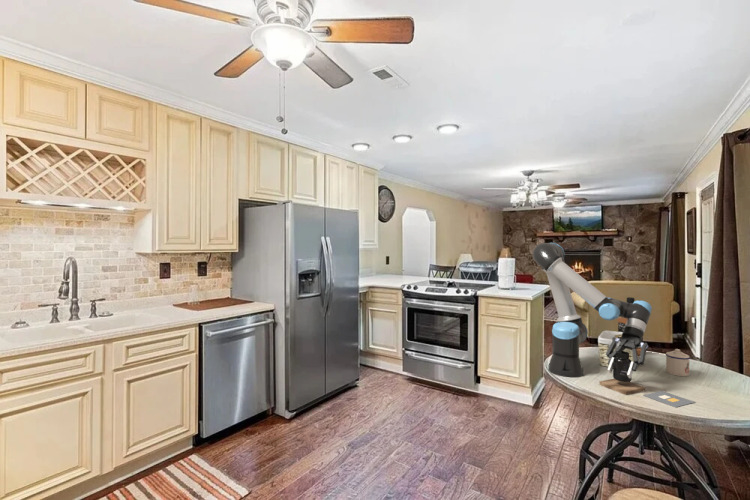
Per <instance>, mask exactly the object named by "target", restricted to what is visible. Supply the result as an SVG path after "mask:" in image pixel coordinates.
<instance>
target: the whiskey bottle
mask: <svg viewBox="0 0 750 500" xmlns="http://www.w3.org/2000/svg"><path fill="white" fill-rule="evenodd" d="M635 301H636V300H635V298H634V297H629V296H627V297H626V302H627V303H632V304H633V303H634V302H635ZM626 322H627V318H623V317H618V318H617V323H618V327H617V328H618V329H617V332H623V330H624V328H625V325H626ZM617 338H620V337H617ZM641 342H642V343H644V337H643V338H642V341H641ZM636 349H637V357H640V353H641V346H639V347H637V348H636Z"/></svg>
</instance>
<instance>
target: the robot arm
mask: <svg viewBox="0 0 750 500" xmlns="http://www.w3.org/2000/svg"><path fill="white" fill-rule="evenodd" d="M532 258H533V260H534V262H535V263H536V264H537V265H538V266H540V267H541V271H543V272H544V273H545V274H546V277H547V281H548V284H549V287H550V291H551V294H552V298H553V300H554V305H555V308H556V311H557V315H558V317H557V319H556V322H555V323H554V324H553V325H552V329H551V332H552V333H551V334H552V337H551V339H552V340H551V341H552V349H551V350H552V351H551V353H552V355H551V358H550V360H549V363H548V372H550V373H552V374H555V375H558V376H561V377H568V378H569V377H570V378H579V377H582V376H583V375H584V368H583V367H582V362H581V360H580V345H581V344H583V343H584V342H585V340H587V337H588V334H589V332H588V328H587V326H586V324H585V323H583V322H584V321H583V319H582V316H581V315H579V314H578V313H577V310H576V307H575V303H574V300H573V297H572V293H571V290H572V291H573V292H574V293H575V294H577V295H578V296H579V297H580V298H581V299H582V300H584V301H585V303H588V305H589V306H591V307H592V308H594V310H595V311H597V313H598V314H599V316H600V317H601V318H602V319H603V320H605V321H614V320H616V319H618V318H619V317H623V318H627V322H626V325H625V328H624V330H623V333H622V336H621V337H620V338H618V337H613V338H612V343H611V345H610V347H609V348H608V350H607V352H606V355H607V357H608V358H609V361H608V364H609V367H607V371H608V373H609V374H613V359H614V358H615V357H617V356H616V351H623V350H625V349H632V352H633V359H634V360H633V361H634V362H631V364H630V367H629V370H628V373H627V375H628V377H629V378H631V377H633V374H634V372H637V369H638V366H644V365H645V360H646V354H647V351H648V349H649V345H648V343H647V342H643V343H642V342H641V341H642V338H643V339H644V335H645V331H646V328H647V326H648V324H649V323H648V322H649V320H650V317H651V315H652V314H651V313H652V310H653V307H652V305H651V304H650V303H649V302H647V301H645V300H635V301H634V303H633V304H632V303H627V301H623V300H619V299H615V298H613V297H607V296H606V295H605V294H603V292H601V291H600V290H599V289H598V288H597V287H595V285H592V284H591V283H590V282H589V281H588V280H586V279H585V278H584V277H583V276H581V275H580V274H579V273H578V272H576V271H575V270H574V269H573V268H572V267H570V266H569V265H568V264H567V263H566V262H565V250H564V248H563V247H562V246H561V245H560V244H558V243H555V242H542V243H539V244H537V245H535V247H534V248H533V250H532ZM619 341H620V342H621V343H620V344H619V346H618V347H617V348H616V349H615V347H616V345H617V344H618V342H619ZM639 346H641V353H640V356H637V349H636V348H637V347H639ZM614 349H615V350H614ZM613 351H614V352H613Z"/></svg>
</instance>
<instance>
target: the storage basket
mask: <svg viewBox="0 0 750 500" xmlns="http://www.w3.org/2000/svg"><path fill="white" fill-rule="evenodd" d="M622 333H623V332H618V331H614V330H603V331H602V332H600V334H599V335H598V337H597V344H598V357H599V358H598V360H599V361H598V362H599V366H602V367H607V368H608V367H609V364H608V361H609V358H608V357H607V355H606V352H607V350H608V348H609V347H610V345H611V343H612V338H613V337H615V338H618V337H621V336H622ZM620 343H621V342H620V341H619V342H618V344H617V345H616V347H615V349H616V348H617V347H618V346H619V344H620ZM615 349H614V350H615ZM623 351H625V352H628V353H629V359H630V360H631V361H632V362H634V361H633V360H634V359H633V352H632V349H625V350H623ZM613 352H614V351H613Z"/></svg>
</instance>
